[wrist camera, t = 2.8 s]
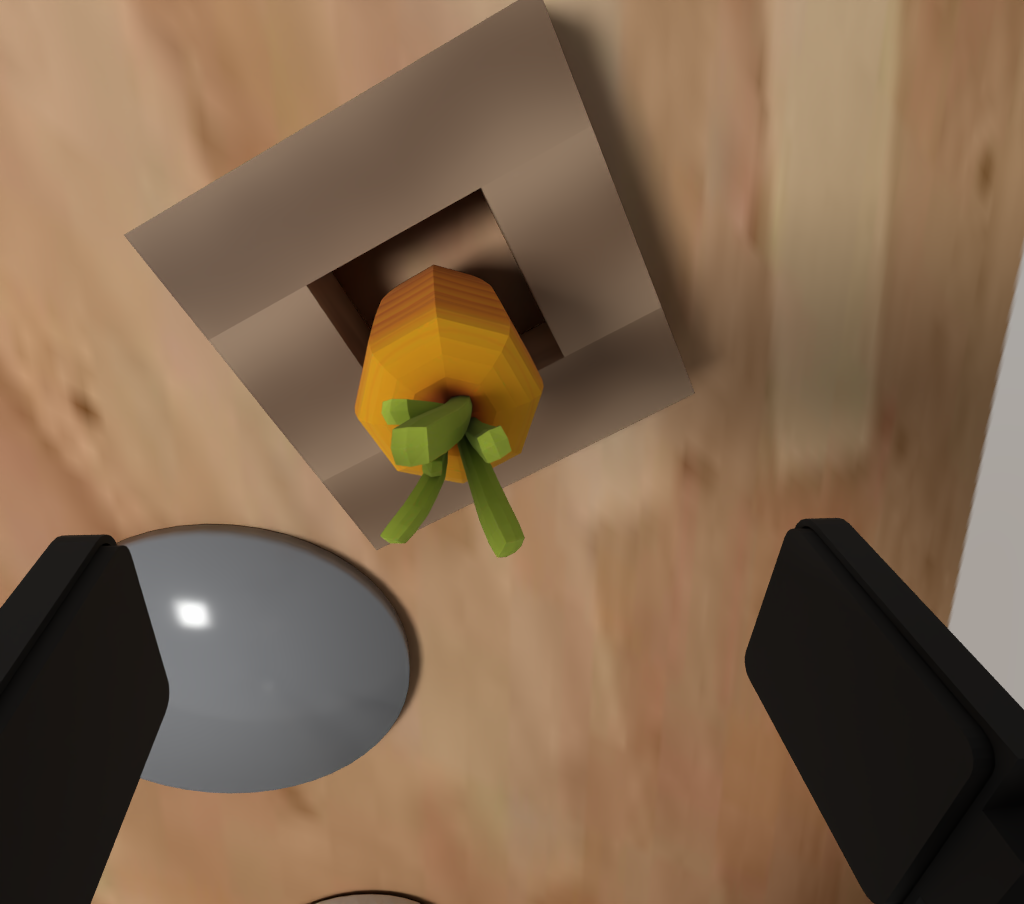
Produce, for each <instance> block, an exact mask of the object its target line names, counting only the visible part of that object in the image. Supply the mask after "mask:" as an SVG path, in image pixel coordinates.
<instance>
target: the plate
mask: <svg viewBox="0 0 1024 904" xmlns="http://www.w3.org/2000/svg"><path fill="white" fill-rule="evenodd" d="M116 544H117V545H124V546H127V547H128V549H129V550H130V553H131V555H132V559H133V562H134V565H135V569H136V572H137V576H138V579H139V583H140V586H141V589H142V593H143V596H144V600H145V603H146V606H147V610H148V613H149V617H150V620H151V624H152V627H153V630H154V634H155V637H156V641H157V644H158V648H159V651H160V654H161V658H162V661H163V665H164V668H165V671H166V675H167V678H168V682H169V692H170V693H169V702H168V707H167V710H166V713H165V716H164V718H163V721H162V723H161V726H160V728H159V731H158V733H157V736H156V739H155V741H154V744H153V746H152V749H151V751H150V754H149V756H148V759H147V761H146V764H145V766H144V769H143V772H142V774H141V777H140V778H142V779H144V780H148V781H151V782H155V783H158V784H162V785H166V786H171V787H176V788H181V789H186V790H193V791H202V792H213V793H251V792H261V791H270V790H276V789H281V788H286V787H291V786H296V785H299V784H303V783H306V782H310V781H313V780H316V779H318V778H321V777H323V776H326V775H329V774H331V773H333V772H335V771H337V770H339V769H341V768H343V767H345V766H347V765H349V764H351V763H352V762H354V761H355V760H357V759H358V758H360V757H361V756H363V755H364V754H365V753H367V752H368V751H369V750H370V749H371V748H373V747H374V746H375V745H376V744H377V743H378V742H379V741H380V740H381V739H382V738H383V737H384V736H385V735H386V733H387V732H388V731H389V730H390V728H391V727H392V725H393V724H394V722H395V721H396V719H397V718H398V716H399V714H400V712H401V709H402V707H403V705H404V703H405V699H406V695H407V691H408V686H409V671H410V656H409V647H408V640H407V637H406V634H405V631H404V627H403V625H402V623H401V621H400V619H399V617H398V615H397V613H396V611H395V609H394V607H393V606H392V605H391V603H390V602H389V601H388V599H387V598H386V596H385V595H384V594H383V593H382V592H381V591H380V590H379V589H378V587H377V586H376V585H375V584H374V583H373V582H372V581H371V580H370V579H369V578H367V577H366V576H365V575H364V574H362V573H361V572H360V571H359V570H357V569H356V568H355V567H354V566H352V565H351V564H349V563H347V562H346V561H344V560H342V559H341V558H339V557H338V556H336V555H334V554H333V553H331V552H328V551H326V550H324V549H322V548H320V547H318V546H316V545H313V544H311V543H309V542H306V541H303V540H300V539H297V538H294V537H291V536H288V535H285V534H281V533H277V532H272V531H268V530H264V529H260V528H252V527H244V526H236V525H215V524H201V525H188V526H176V527H171V528H165V529H160V530H154V531H150V532H147V533H143V534H140V535H137V536H133V537H130V538H127V539H125V540H122V541H120V542H118V543H116Z"/></svg>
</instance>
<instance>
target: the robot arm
mask: <svg viewBox="0 0 1024 904" xmlns="http://www.w3.org/2000/svg"><path fill="white" fill-rule="evenodd" d="M745 667H746V671H747V675H748V677H749V679H750V681H751V683H752V685H753V687H754V689H755V691H756V692H757V694H758V696H759V698H760V700H761V702H762V704H763V705H764V707H765V709H766V711H767V713H768V715H769V717H770V718H771V720H772V722H773V724H774V726H775V728H776V730H777V731H778V733H779V735H780V737H781V739H782V741H783V743H784V744H785V746H786V748H787V750H788V752H789V754H790V756H791V758H792V759H793V761H794V763H795V765H796V767H797V769H798V771H799V772H800V774H801V776H802V778H803V780H804V782H805V784H806V785H807V787H808V789H809V791H810V793H811V795H812V797H813V798H814V800H815V802H816V804H817V806H818V808H819V810H820V812H821V813H822V815H823V817H824V819H825V821H826V823H827V825H828V826H829V828H830V830H831V832H832V834H833V836H834V838H835V839H836V841H837V843H838V845H839V847H840V849H841V851H842V852H843V854H844V856H845V858H846V860H847V862H848V864H849V866H850V867H851V869H852V871H853V873H854V875H855V877H856V879H857V880H858V882H859V884H860V886H861V888H862V889H863V891H864V893H865V894H866V896H867V897H868V898H869V899H870V900H871V901H872V902H873V903H875V904H1024V710H1023V708H1022V707H1021V706H1020V705H1019V704H1018V703H1017V702H1016V701H1015V700H1014V699H1013V698H1012V697H1011V696H1010V695H1009V693H1008V692H1007V691H1006V690H1005V689H1004V688H1003V687H1002V686H1001V685H1000V684H999V683H998V682H997V681H996V680H995V679H994V677H993V676H992V675H991V674H990V673H989V672H988V671H987V670H986V669H985V668H984V667H983V666H982V665H981V664H980V663H979V662H978V661H977V659H976V658H975V657H974V656H973V655H972V654H971V653H970V652H969V651H968V650H967V649H966V648H965V647H964V646H963V644H962V643H961V642H960V641H959V640H958V639H957V638H956V637H955V636H954V635H953V634H952V633H951V632H950V631H949V630H948V628H947V627H946V626H945V625H944V624H943V623H942V622H941V621H940V620H939V619H938V618H937V617H936V616H935V615H934V614H933V612H932V611H931V610H930V609H929V608H928V607H927V606H926V605H925V604H924V603H923V602H922V601H921V600H920V599H919V598H918V596H917V595H916V594H915V593H914V592H913V591H912V590H911V589H910V588H909V587H908V586H907V585H906V584H905V583H904V582H903V580H902V579H901V578H900V577H899V576H898V575H897V574H896V573H895V572H894V571H893V570H892V569H891V568H890V567H889V566H888V564H887V563H886V562H885V561H884V560H883V559H882V558H881V557H880V556H879V555H878V554H877V553H876V552H875V551H874V550H873V548H872V547H871V546H870V545H869V544H868V543H867V542H866V541H865V540H864V539H863V538H862V537H861V536H860V535H859V534H858V532H857V531H856V530H855V529H854V528H853V527H852V526H851V525H850V524H849V523H848V522H846V521H845V520H844V519H840V518H819V519H803V520H801V521H800V522H799V523H797V525H796V527H795V529H790V530H789V531H788V532H787V534H786V536H785V538H784V541H783V544H782V547H781V550H780V553H779V556H778V559H777V562H776V564H775V567H774V570H773V573H772V576H771V579H770V582H769V585H768V588H767V591H766V594H765V597H764V600H763V603H762V606H761V609H760V612H759V615H758V618H757V621H756V624H755V626H754V629H753V632H752V635H751V638H750V641H749V644H748V647H747V650H746V654H745ZM169 693H170V692H169V682H168V678H167V675H166V671H165V668H164V665H163V661H162V658H161V654H160V651H159V648H158V644H157V641H156V637H155V634H154V630H153V627H152V624H151V620H150V617H149V613H148V610H147V606H146V603H145V600H144V596H143V593H142V589H141V586H140V583H139V579H138V576H137V572H136V569H135V565H134V562H133V559H132V555H131V553H130V550H129V549H128V547H127V546H124V545H117V544H116V542H115V540H114V539H113V538H112V537H111V536H109V535H66V536H60V537H57V538H56V539H55V540H54V541H52V542H51V544H50V545H49V546H48V547H47V549H46V550H45V551H44V553H43V554H42V555H41V557H40V558H39V559H38V560H37V562H36V563H35V564H34V566H33V567H32V568H31V569H30V571H29V572H28V573H27V575H26V576H25V577H24V578H23V580H22V581H21V582H20V584H19V585H18V586H17V588H16V589H15V590H14V591H13V593H12V594H11V595H10V597H9V598H8V599H7V600H6V602H5V603H4V604H3V606H2V607H1V608H0V904H91V901H92V899H93V896H94V893H95V891H96V888H97V886H98V883H99V881H100V878H101V876H102V873H103V871H104V868H105V866H106V863H107V860H108V858H109V855H110V853H111V850H112V848H113V845H114V843H115V840H116V838H117V835H118V833H119V830H120V827H121V825H122V822H123V820H124V817H125V815H126V812H127V810H128V807H129V805H130V802H131V799H132V797H133V794H134V792H135V789H136V787H137V784H138V782H139V779H140V777H141V774H142V772H143V769H144V766H145V764H146V761H147V759H148V756H149V754H150V751H151V749H152V746H153V744H154V741H155V739H156V736H157V733H158V731H159V728H160V726H161V723H162V721H163V718H164V716H165V713H166V710H167V707H168V702H169ZM315 904H420V903H418V902H416V901H413V900H410V899H406V898H403V897H397V896H392V895H382V894H358V895H349V896H342V897H336V898H332V899H328V900H324V901H320V902H318V903H315Z"/></svg>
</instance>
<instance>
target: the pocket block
mask: <svg viewBox="0 0 1024 904" xmlns="http://www.w3.org/2000/svg"><path fill="white" fill-rule="evenodd" d="M479 188H480V190H481V192H482V194H483V196H484V198H485V200H486V202H487V204H488V206H489V208H490V210H491V212H492V214H493V216H494V218H495V220H496V222H497V224H498V226H499V228H500V230H501V232H502V234H503V236H504V238H505V240H506V242H507V244H508V246H509V248H510V250H511V253H512V255H513V257H514V259H515V261H516V263H517V265H518V267H519V269H520V271H521V273H522V275H523V277H524V279H525V281H526V283H527V285H528V287H529V289H530V291H531V293H532V295H533V297H534V299H535V301H536V303H537V305H538V307H539V309H540V311H541V313H542V315H543V317H544V319H545V321H546V322H545V323H543V324H541V325H539V326H537V327H535V328H533V329H531V330H529V331H527V332H525V333H524V334H522V335H520V338H521V340H522V341H523V343H524V345H525V347H526V349H527V350H528V352H529V354H530V356H531V358H532V360H533V362H534V364H535V366H536V368H537V370H538V372H539V374H540V376H541V378H542V380H543V386H544V387H543V391H542V394H541V397H540V400H539V403H538V406H537V409H536V411H535V414H534V417H533V420H532V423H531V426H530V429H529V432H528V434H527V437H526V440H525V443H524V446H523V449H522V452H521V453H520V454H518V455H516V456H515V457H513V458H511V459H509V460H507V461H505V462H503V463H501V464H499V465H497V466H496V467H494V468H493V470H494V472H495V474H496V477H497V479H498V481H499V483H500V485H501V487H502V488H504V487H506V486H508V485H510V484H512V483H514V482H516V481H518V480H520V479H522V478H524V477H526V476H528V475H530V474H532V473H534V472H536V471H538V470H540V469H542V468H544V467H547V466H549V465H551V464H553V463H555V462H557V461H559V460H561V459H563V458H565V457H567V456H569V455H571V454H573V453H575V452H577V451H579V450H581V449H583V448H585V447H587V446H589V445H591V444H593V443H595V442H597V441H599V440H601V439H603V438H605V437H607V436H609V435H611V434H613V433H615V432H617V431H619V430H622V429H624V428H626V427H628V426H630V425H632V424H634V423H636V422H638V421H640V420H642V419H644V418H646V417H648V416H650V415H652V414H654V413H656V412H658V411H660V410H662V409H664V408H666V407H668V406H670V405H672V404H674V403H676V402H678V401H680V400H682V399H684V398H686V397H688V396H690V395H692V394H694V393H695V392H694V390H693V387H692V384H691V382H690V379H689V377H688V374H687V371H686V369H685V366H684V364H683V361H682V358H681V356H680V353H679V351H678V348H677V346H676V343H675V340H674V338H673V335H672V333H671V330H670V327H669V325H668V322H667V320H666V317H665V315H664V312H663V309H662V307H661V304H660V302H659V299H658V296H657V294H656V291H655V289H654V286H653V283H652V281H651V278H650V276H649V273H648V271H647V268H646V265H645V263H644V260H643V258H642V255H641V252H640V250H639V247H638V245H637V242H636V239H635V237H634V234H633V232H632V229H631V227H630V224H629V221H628V219H627V216H626V214H625V211H624V208H623V206H622V203H621V201H620V198H619V196H618V193H617V190H616V188H615V185H614V183H613V180H612V177H611V175H610V172H609V170H608V167H607V164H606V162H605V159H604V157H603V154H602V152H601V149H600V146H599V144H598V141H597V139H596V136H595V133H594V131H593V128H592V126H591V123H590V120H589V118H588V115H587V113H586V110H585V108H584V105H583V102H582V100H581V97H580V95H579V92H578V89H577V87H576V84H575V82H574V79H573V76H572V74H571V71H570V69H569V66H568V64H567V61H566V58H565V56H564V53H563V51H562V48H561V45H560V43H559V40H558V38H557V35H556V33H555V30H554V27H553V25H552V22H551V20H550V17H549V14H548V12H547V9H546V7H545V4H544V1H543V0H518V1H516V2H514V3H513V4H511V5H509V6H508V7H506V8H504V9H503V10H501V11H499V12H498V13H496V14H494V15H493V16H491V17H489V18H487V19H486V20H484V21H482V22H481V23H479V24H477V25H476V26H474V27H472V28H471V29H469V30H467V31H466V32H464V33H462V34H461V35H459V36H457V37H456V38H454V39H452V40H451V41H449V42H447V43H445V44H444V45H442V46H440V47H439V48H437V49H435V50H434V51H432V52H430V53H429V54H427V55H425V56H424V57H422V58H420V59H419V60H417V61H415V62H414V63H412V64H410V65H409V66H407V67H405V68H403V69H402V70H400V71H398V72H397V73H395V74H393V75H392V76H390V77H388V78H387V79H385V80H383V81H382V82H380V83H378V84H377V85H375V86H373V87H372V88H370V89H368V90H367V91H365V92H363V93H361V94H360V95H358V96H356V97H355V98H353V99H351V100H350V101H348V102H346V103H345V104H343V105H341V106H340V107H338V108H336V109H335V110H333V111H331V112H330V113H328V114H326V115H325V116H323V117H321V118H320V119H318V120H316V121H314V122H313V123H311V124H309V125H308V126H306V127H304V128H303V129H301V130H299V131H298V132H296V133H294V134H293V135H291V136H289V137H288V138H286V139H284V140H283V141H281V142H279V143H278V144H276V145H274V146H272V147H271V148H269V149H267V150H266V151H264V152H262V153H261V154H259V155H257V156H256V157H254V158H252V159H251V160H249V161H247V162H246V163H244V164H242V165H241V166H239V167H237V168H236V169H234V170H232V171H230V172H229V173H227V174H225V175H224V176H222V177H220V178H219V179H217V180H215V181H214V182H212V183H210V184H209V185H207V186H205V187H204V188H202V189H200V190H199V191H197V192H195V193H194V194H192V195H190V196H188V197H187V198H185V199H183V200H182V201H180V202H178V203H177V204H175V205H173V206H172V207H170V208H168V209H167V210H165V211H163V212H162V213H160V214H158V215H157V216H155V217H153V218H152V219H150V220H148V221H147V222H145V223H143V224H141V225H140V226H138V227H136V228H135V229H133V230H131V231H130V232H128V233H126V234H125V235H124V236H125V237H126V238H127V240H128V241H129V242H130V243H131V245H132V246H133V247H134V248H135V249H136V251H137V252H138V253H139V254H140V256H141V257H142V258H143V259H144V261H145V262H146V263H147V264H148V266H149V267H150V268H151V269H152V271H153V272H154V273H155V274H156V276H157V277H158V278H159V279H160V281H161V282H162V283H163V284H164V286H165V287H166V288H167V289H168V291H169V292H170V293H171V294H172V296H173V297H174V298H175V299H176V301H177V302H178V303H179V304H180V306H181V307H182V308H183V309H184V311H185V312H186V313H187V314H188V316H189V317H190V318H191V319H192V321H193V322H194V323H195V324H196V326H197V327H198V328H199V329H200V331H201V332H202V333H203V334H204V335H205V337H206V338H207V339H208V340H209V342H210V343H211V344H212V345H213V347H214V348H215V349H216V350H217V352H218V353H219V354H220V355H221V357H222V358H223V359H224V360H225V362H226V363H227V364H228V365H229V367H230V368H231V369H232V370H233V372H234V373H235V374H236V375H237V377H238V378H239V379H240V380H241V382H242V383H243V384H244V385H245V387H246V388H247V389H248V390H249V392H250V393H251V394H252V395H253V397H254V398H255V399H256V400H257V402H258V403H259V404H260V405H261V407H262V408H263V409H264V410H265V412H266V413H267V414H268V415H269V417H270V418H271V419H272V420H273V422H274V423H275V424H276V425H277V426H278V428H279V429H280V430H281V431H282V433H283V434H284V435H285V436H286V438H287V439H288V440H289V441H290V443H291V444H292V445H293V446H294V448H295V449H296V450H297V451H298V453H299V454H300V455H301V456H302V458H303V459H304V460H305V461H306V463H307V464H308V465H309V466H310V468H311V469H312V470H313V471H314V473H315V474H316V475H317V476H318V478H319V479H320V480H321V481H322V483H323V484H324V485H325V486H326V488H327V489H328V490H329V491H330V493H331V494H332V495H333V496H334V498H335V499H336V500H337V501H338V503H339V504H340V505H341V506H342V508H343V509H344V510H345V511H346V512H347V514H348V515H349V516H350V517H351V519H352V520H353V521H354V522H355V524H356V525H357V526H358V527H359V529H360V530H361V531H362V532H363V534H364V535H365V536H366V537H367V539H368V540H369V541H370V542H371V544H372V545H373V546H374V547H375V549H376V550H378V549H380V548H382V547H384V546H386V545H388V544H390V543H389V542H387V541H386V540H384V539H383V538H382V537H381V536H380V535H381V533H382V532H383V531H384V529H385V528H386V526H387V525H388V524H389V522H390V521H391V520H392V518H393V517H394V516H395V515H396V513H397V512H398V511H399V509H400V508H401V507H402V506H403V504H404V503H405V501H406V500H407V498H408V497H409V495H410V494H411V492H412V491H413V489H414V488H415V486H416V485H417V483H418V481H419V480H420V478H421V476H420V475H415V474H410V473H405V472H399V471H397V470H396V468H395V467H394V466H393V464H392V463H391V462H390V461H389V459H388V458H387V457H386V455H385V454H384V453H383V451H382V450H381V449H380V447H379V446H378V445H377V443H376V442H375V441H374V439H373V438H372V437H371V435H370V434H369V433H368V431H367V430H366V429H365V427H364V426H363V425H362V424H361V422H360V421H359V420H358V418H357V416H356V414H355V403H356V398H357V394H358V389H359V384H360V379H361V374H362V370H363V365H364V360H365V355H366V351H367V346H368V341H369V337H370V333H371V331H370V330H369V328H368V327H367V325H366V324H365V322H364V321H363V319H362V318H361V316H360V315H359V313H358V311H357V310H356V308H355V307H354V305H353V304H352V302H351V301H350V299H349V298H348V296H347V295H346V293H345V292H344V290H343V288H342V287H341V285H340V284H339V282H338V281H337V279H336V278H335V276H334V275H333V273H332V272H331V271H333V270H335V269H336V268H338V267H340V266H342V265H344V264H345V263H347V262H349V261H351V260H353V259H354V258H356V257H358V256H360V255H361V254H363V253H365V252H367V251H369V250H370V249H372V248H374V247H376V246H378V245H379V244H381V243H383V242H385V241H386V240H388V239H390V238H392V237H394V236H395V235H397V234H399V233H401V232H403V231H404V230H406V229H408V228H410V227H411V226H413V225H415V224H417V223H419V222H420V221H422V220H424V219H426V218H428V217H429V216H431V215H433V214H435V213H436V212H438V211H440V210H442V209H444V208H445V207H447V206H449V205H451V204H453V203H454V202H456V201H458V200H460V199H461V198H463V197H465V196H467V195H469V194H470V193H472V192H474V191H476V190H478V189H479ZM472 503H474V500H473V497H472V494H471V490H470V487H469V484H468V481H467V482H465V483H463V484H462V483H457V482H452V481H447V480H444V483H443V485H442V487H441V490H440V492H439V494H438V496H437V498H436V500H435V502H434V504H433V506H432V508H431V510H430V512H429V514H428V516H427V517H426V519H425V520H424V521H423V523H422V524H421V526H420V527H419V528H418V530H419V529H421V528H423V527H425V526H427V525H429V524H431V523H433V522H435V521H437V520H439V519H441V518H443V517H445V516H447V515H449V514H451V513H453V512H455V511H457V510H459V509H461V508H463V507H465V506H467V505H469V504H472Z"/></svg>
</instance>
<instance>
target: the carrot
mask: <svg viewBox="0 0 1024 904" xmlns="http://www.w3.org/2000/svg"><path fill="white" fill-rule="evenodd" d="M543 387H544V386H543V380H542V378H541V376H540V374H539V372H538V370H537V368H536V366H535V364H534V362H533V360H532V358H531V356H530V354H529V352H528V350H527V349H526V347H525V345H524V343H523V341H522V340H521V338H520V336H519V334H518V333H517V331H516V329H515V327H514V325H513V324H512V322H511V320H510V318H509V316H508V315H507V313H506V311H505V309H504V307H503V306H502V304H501V302H500V300H499V299H498V297H497V295H496V294H495V292H494V290H493V288H492V287H491V285H489V284H488V283H486V282H485V281H483V280H482V279H480V278H477V277H475V276H473V275H469V274H466V273H462V272H458V271H455V270H451V269H447V268H444V267H440V266H436V265H432V266H431V267H429V268H427V269H425V270H424V271H422V272H420V273H419V274H417V275H415V276H413V277H412V278H410V279H408V280H407V281H405V282H403V283H401V284H400V285H398V286H397V287H395V288H394V289H393V290H391V291H390V292H389V293H388V294H387V295H386V296H385V297H384V298H383V299H382V300H381V302H380V305H379V308H378V310H377V313H376V315H375V318H374V322H373V326H372V330H371V333H370V337H369V341H368V346H367V351H366V355H365V360H364V365H363V370H362V374H361V379H360V384H359V389H358V394H357V398H356V403H355V414H356V416H357V418H358V420H359V421H360V422H361V424H362V425H363V426H364V427H365V429H366V430H367V431H368V433H369V434H370V435H371V437H372V438H373V439H374V441H375V442H376V443H377V445H378V446H379V447H380V449H381V450H382V451H383V453H384V454H385V455H386V457H387V458H388V459H389V461H390V462H391V463H392V464H393V466H394V467H395V468H396V470H397V471H399V472H405V473H410V474H415V475H420V476H421V478H420V480H419V481H418V483H417V485H416V486H415V488H414V489H413V491H412V492H411V494H410V495H409V497H408V498H407V500H406V501H405V503H404V504H403V506H402V507H401V508H400V509H399V511H398V512H397V513H396V515H395V516H394V517H393V518H392V520H391V521H390V522H389V524H388V525H387V526H386V528H385V529H384V531H383V532H382V533H381V535H380V536H381V537H382V538H383V539H384V540H386V541H387V542H389V543H406V542H407V541H408V540H409V539H410V538H411V537H412V536H413V534H414V533H415V532H416V531H417V530H418V528H419V527H420V526H421V524H422V523H423V521H424V520H425V519H426V517H427V516H428V514H429V512H430V510H431V508H432V506H433V504H434V502H435V500H436V498H437V496H438V494H439V492H440V490H441V487H442V485H443V483H444V480H447V481H452V482H457V483H462V484H463V483H465V482H467V481H468V484H469V487H470V490H471V494H472V497H473V500H474V504H475V507H476V510H477V514H478V517H479V520H480V523H481V525H482V528H483V530H484V533H485V535H486V537H487V540H488V542H489V544H490V546H491V548H492V549H493V551H494V553H495V555H496V556H497V557H507V556H509V555H511V554H513V553H515V552H516V551H517V550H518V549H519V548H520V547H521V545H522V543H523V540H524V538H525V537H524V535H523V532H522V530H521V527H520V525H519V522H518V520H517V518H516V516H515V514H514V512H513V510H512V508H511V506H510V504H509V502H508V500H507V498H506V496H505V494H504V492H503V489H502V487H501V485H500V483H499V481H498V479H497V477H496V474H495V472H494V470H493V468H494V467H496V466H497V465H499V464H501V463H503V462H505V461H507V460H509V459H511V458H513V457H515V456H516V455H518V454H520V453H521V452H522V449H523V446H524V443H525V440H526V437H527V434H528V432H529V429H530V426H531V423H532V420H533V417H534V414H535V411H536V409H537V406H538V403H539V400H540V397H541V394H542V391H543Z"/></svg>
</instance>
